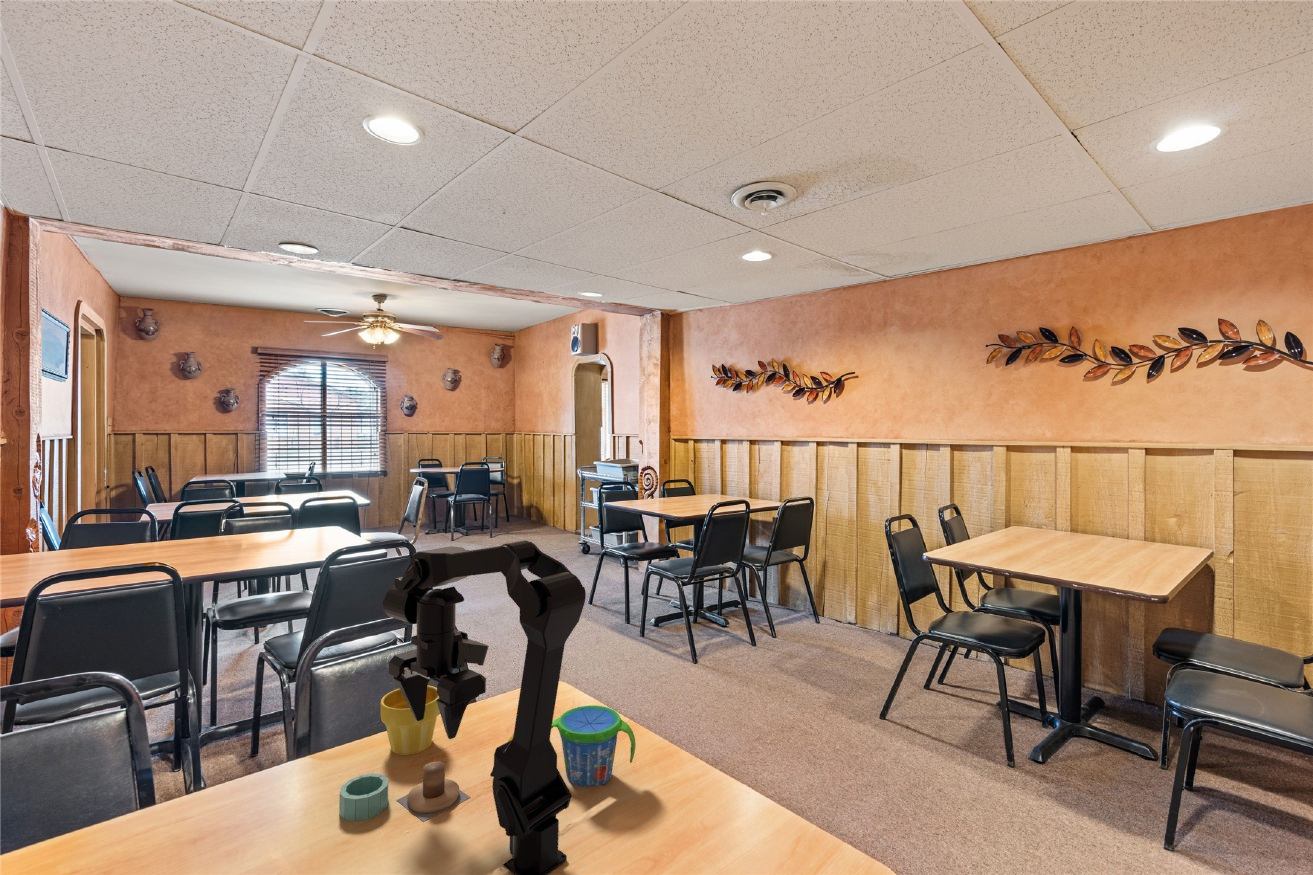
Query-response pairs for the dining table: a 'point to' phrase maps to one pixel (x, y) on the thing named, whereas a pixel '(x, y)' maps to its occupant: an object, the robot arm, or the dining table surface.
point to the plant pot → (409, 722)
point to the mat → (427, 816)
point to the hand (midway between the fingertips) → (435, 728)
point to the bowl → (363, 797)
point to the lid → (433, 791)
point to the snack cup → (591, 743)
